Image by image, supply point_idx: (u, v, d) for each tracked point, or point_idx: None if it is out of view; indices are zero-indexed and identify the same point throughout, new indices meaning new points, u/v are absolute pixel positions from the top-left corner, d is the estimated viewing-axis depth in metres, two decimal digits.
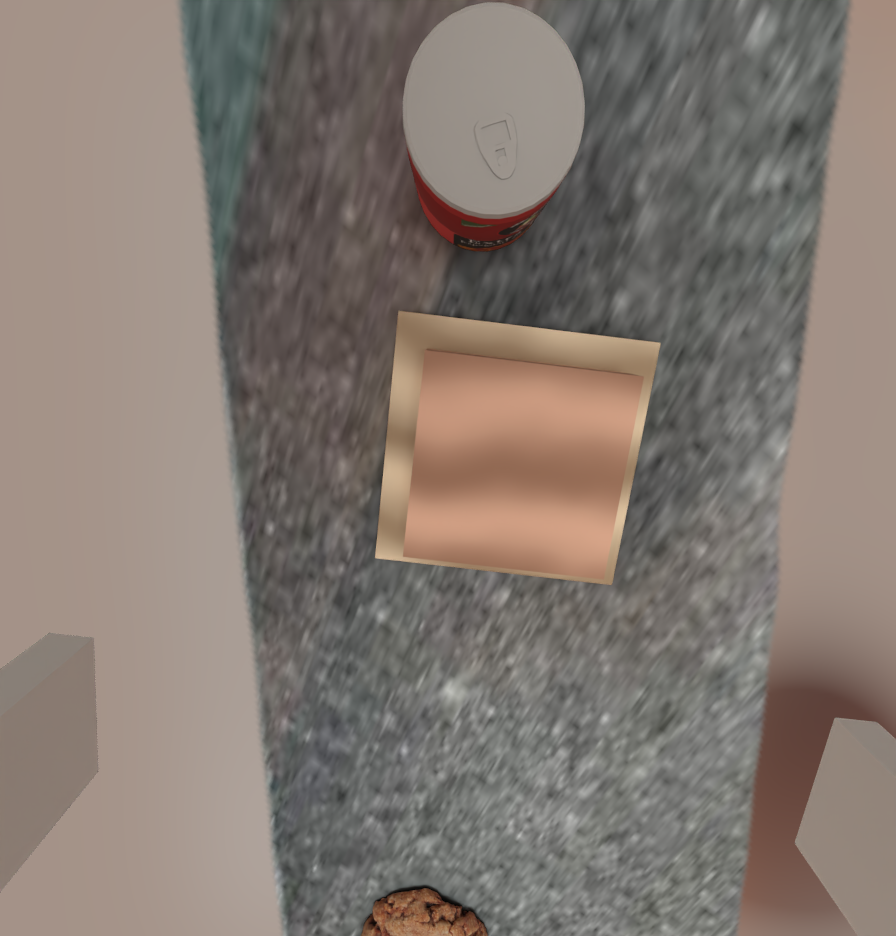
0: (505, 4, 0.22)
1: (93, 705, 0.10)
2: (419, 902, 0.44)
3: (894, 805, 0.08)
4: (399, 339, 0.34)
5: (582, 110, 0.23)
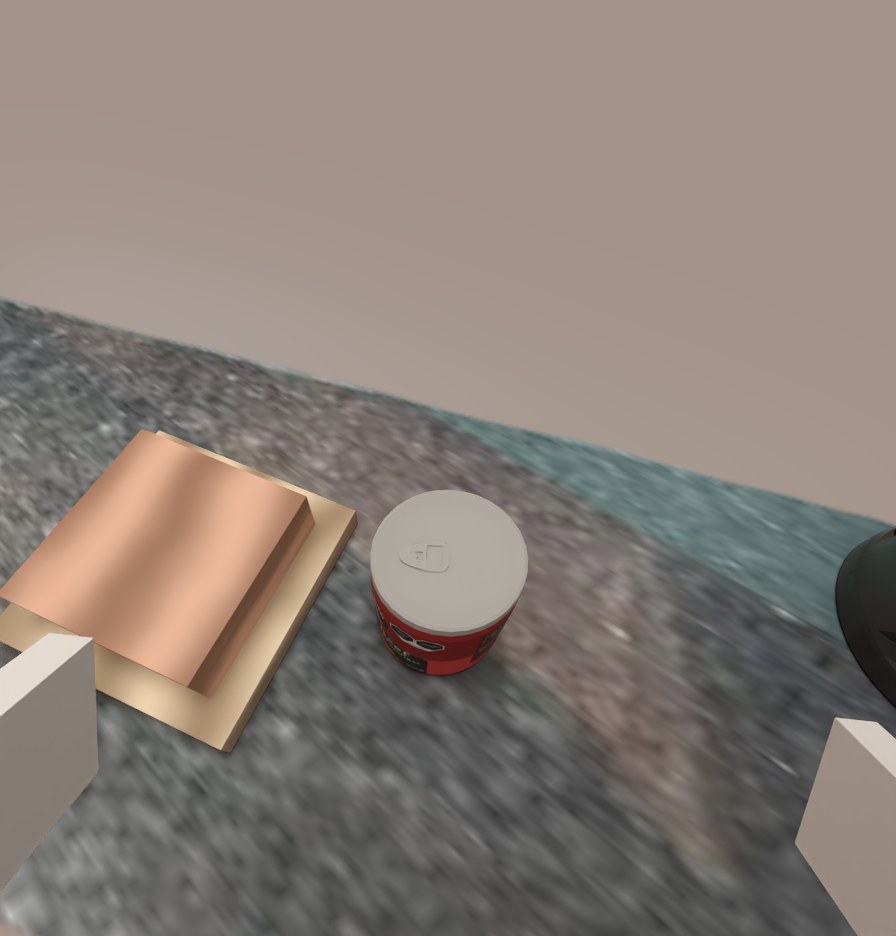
0: (523, 585, 0.27)
1: (93, 705, 0.10)
2: None
3: (894, 805, 0.08)
4: (332, 504, 0.38)
5: (430, 626, 0.26)
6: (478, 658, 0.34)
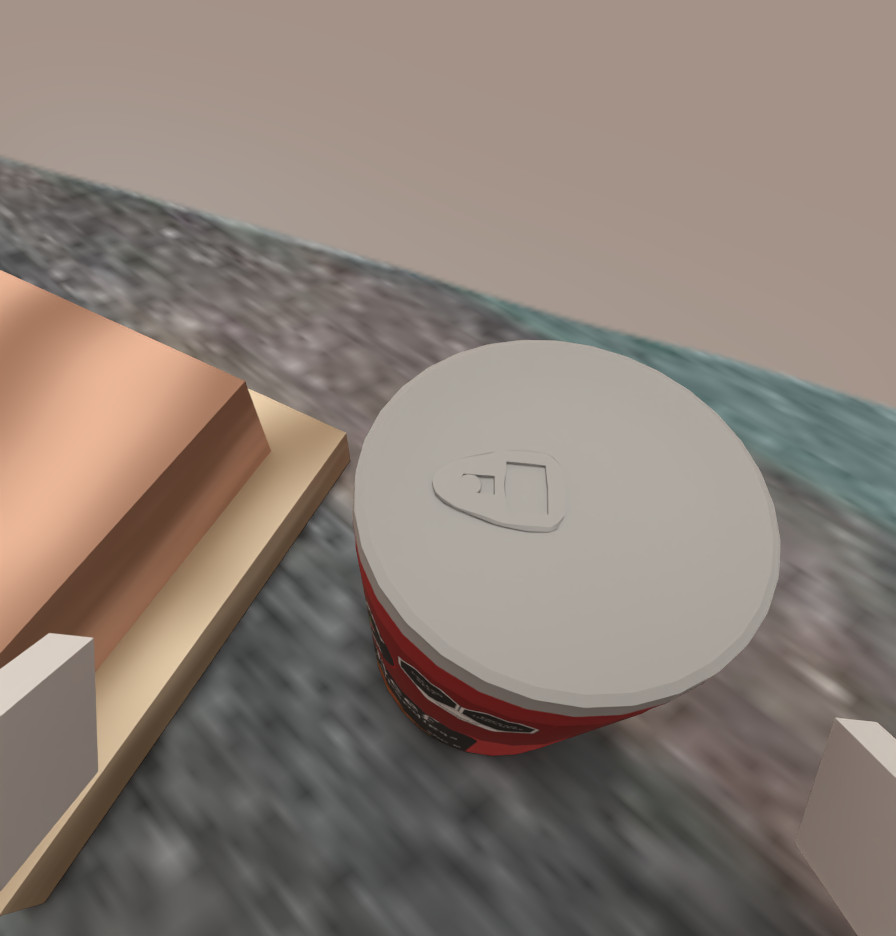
0: (775, 580, 0.10)
1: (93, 705, 0.10)
2: None
3: (894, 805, 0.08)
4: (305, 420, 0.21)
5: (520, 686, 0.08)
6: None
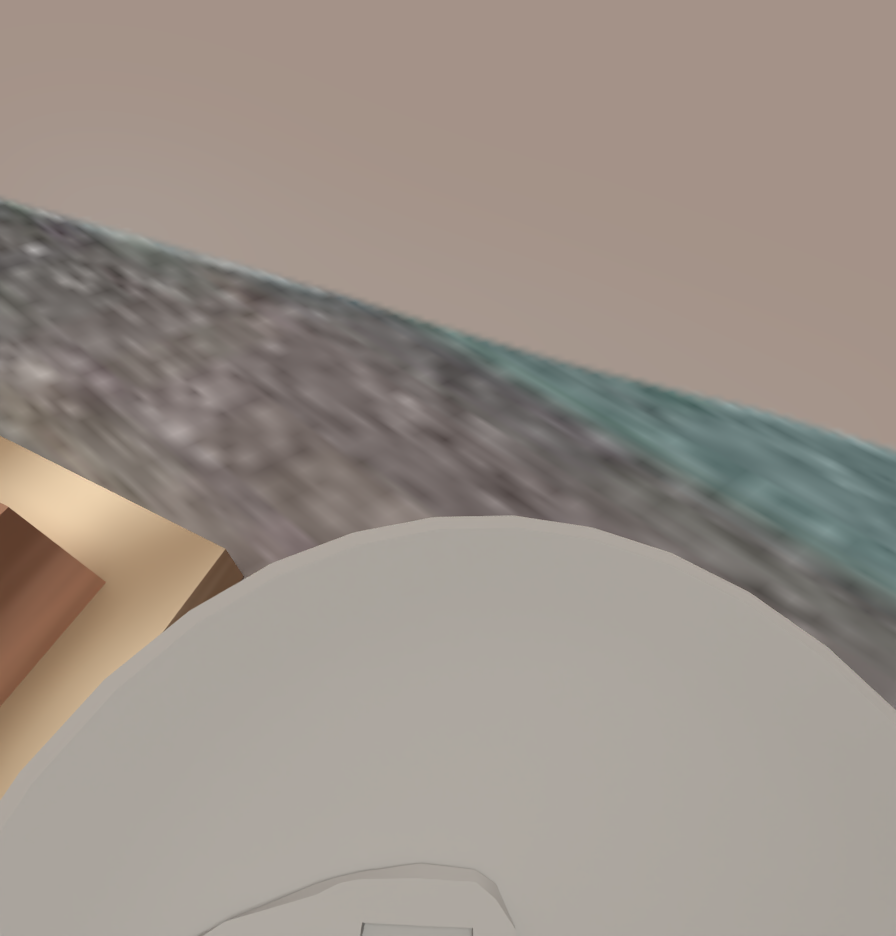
0: None
1: None
2: None
3: None
4: (166, 529, 0.14)
5: None
6: None
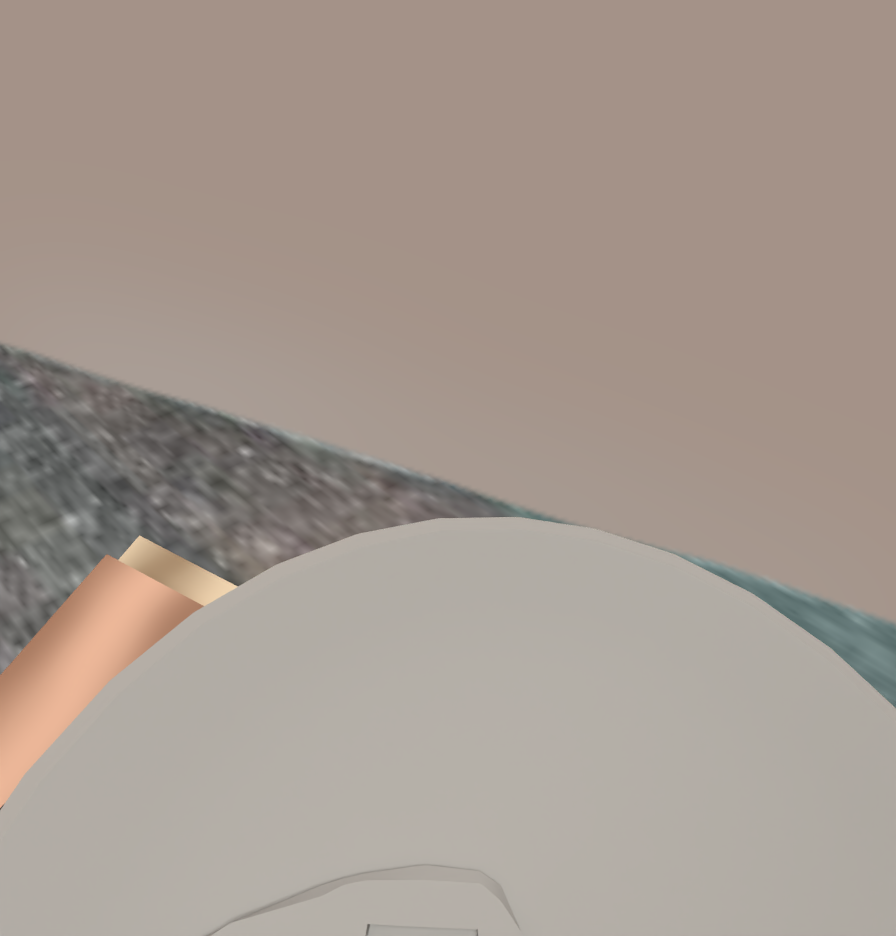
0: None
1: None
2: None
3: None
4: None
5: None
6: None
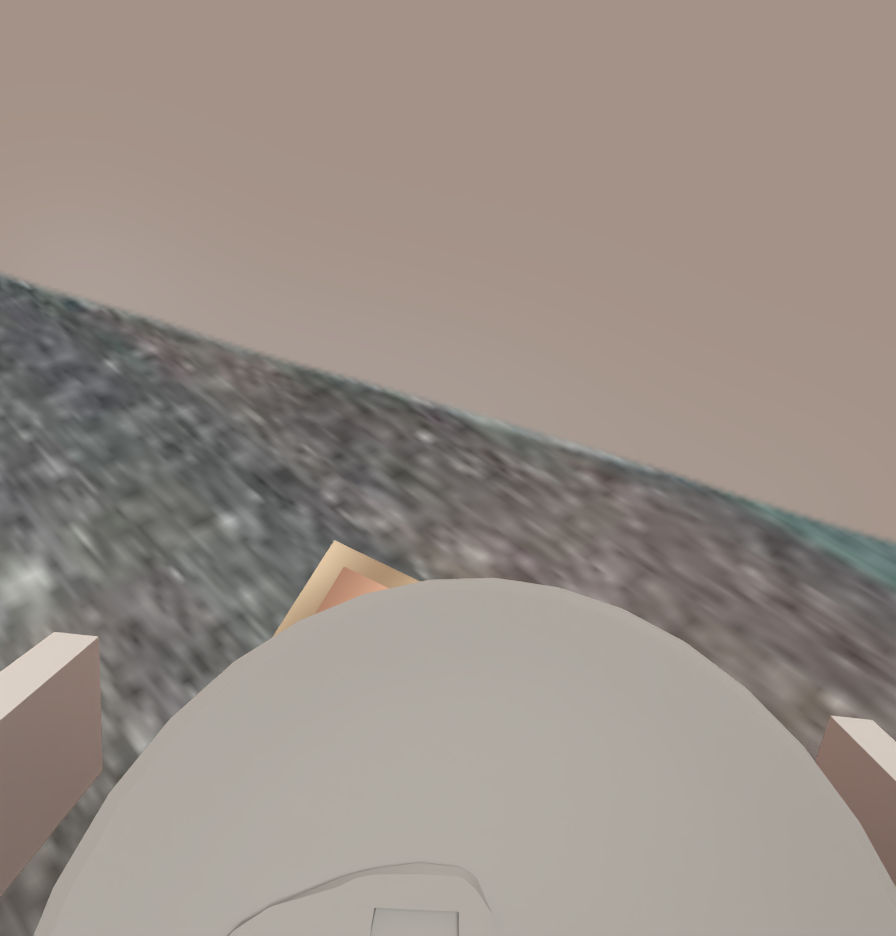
0: None
1: (97, 703, 0.10)
2: None
3: (888, 802, 0.08)
4: None
5: None
6: None
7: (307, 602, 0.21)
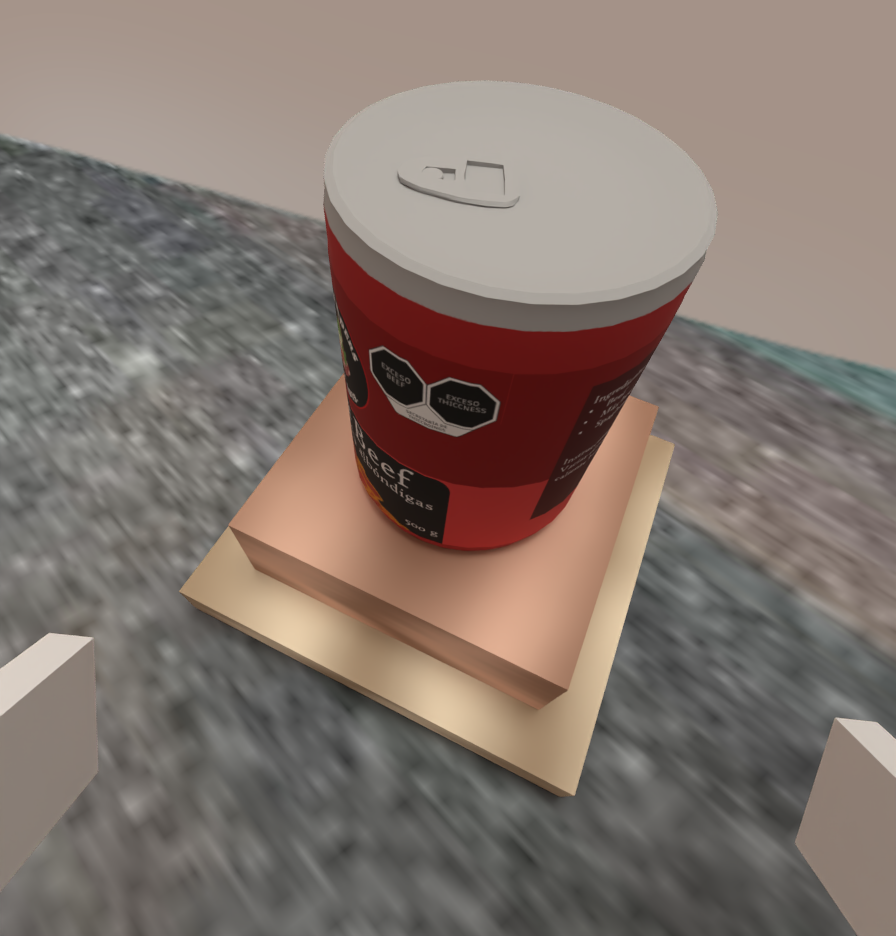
0: None
1: (93, 705, 0.10)
2: None
3: (894, 805, 0.08)
4: None
5: (473, 286, 0.09)
6: (546, 514, 0.17)
7: None
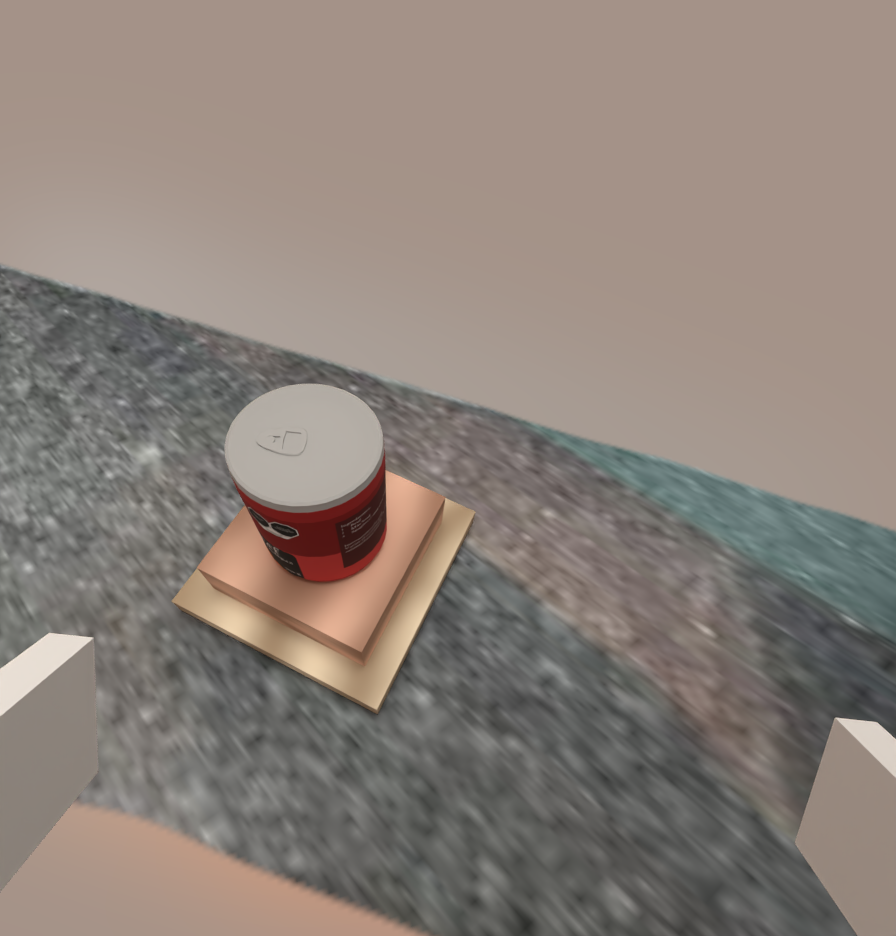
0: (373, 471, 0.28)
1: (93, 705, 0.10)
2: None
3: (894, 805, 0.08)
4: (455, 505, 0.44)
5: (271, 499, 0.26)
6: (354, 564, 0.34)
7: None
